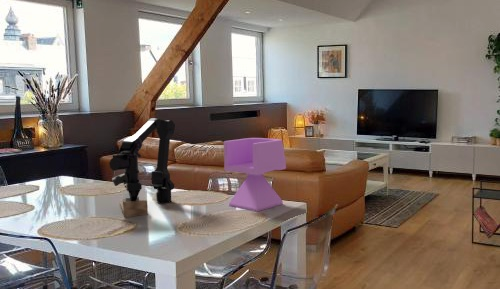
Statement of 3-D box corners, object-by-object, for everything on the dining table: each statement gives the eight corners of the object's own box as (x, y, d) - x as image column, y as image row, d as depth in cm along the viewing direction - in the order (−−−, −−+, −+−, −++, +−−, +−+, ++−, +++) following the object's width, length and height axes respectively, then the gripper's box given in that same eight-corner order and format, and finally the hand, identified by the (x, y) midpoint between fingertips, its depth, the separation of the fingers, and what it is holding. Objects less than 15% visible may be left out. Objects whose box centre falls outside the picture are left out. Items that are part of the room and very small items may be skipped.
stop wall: (147, 213, 217) (146, 199, 217) (147, 214, 216) (147, 200, 215) (123, 215, 214) (122, 202, 214) (124, 216, 212) (123, 203, 212)
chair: (225, 206, 228) (223, 141, 225) (254, 198, 243) (253, 137, 239) (257, 212, 215) (256, 143, 211) (286, 204, 229) (285, 139, 226)
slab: (136, 196, 237) (135, 192, 237) (139, 201, 226) (138, 197, 225) (123, 197, 235) (122, 193, 235) (125, 202, 224) (125, 198, 223)
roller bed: (141, 203, 237) (140, 196, 237) (147, 213, 217) (146, 205, 217) (119, 205, 234) (119, 198, 234) (123, 216, 214) (123, 208, 213)
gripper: (111, 166, 226) (112, 200, 227) (114, 171, 208) (115, 208, 210) (136, 165, 229) (137, 198, 231) (141, 170, 212) (142, 206, 213)
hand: (132, 202), depth 221 cm, fingers open, 5 cm apart
